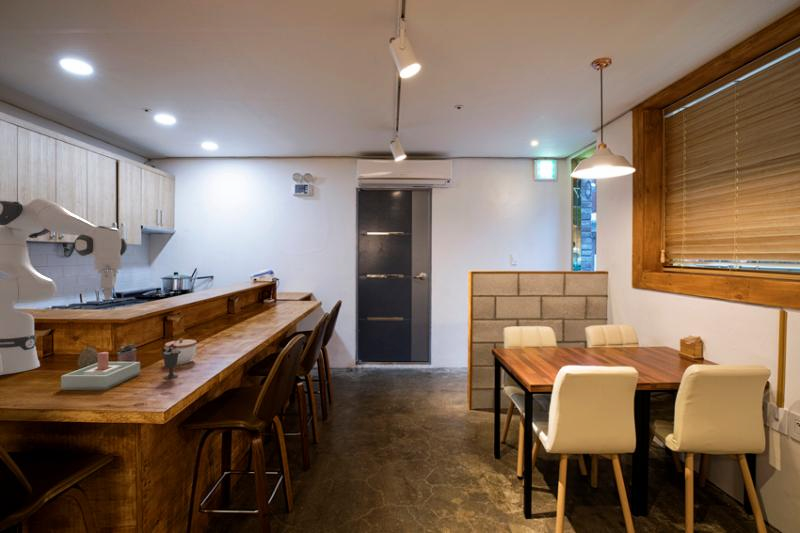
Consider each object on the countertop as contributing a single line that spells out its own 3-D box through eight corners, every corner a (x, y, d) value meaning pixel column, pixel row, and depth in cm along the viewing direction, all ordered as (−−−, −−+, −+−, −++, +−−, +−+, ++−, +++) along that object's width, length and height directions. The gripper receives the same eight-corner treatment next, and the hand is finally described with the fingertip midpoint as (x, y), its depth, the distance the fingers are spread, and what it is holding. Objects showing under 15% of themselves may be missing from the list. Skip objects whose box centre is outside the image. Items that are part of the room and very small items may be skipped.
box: (61, 389, 132) (61, 375, 132) (100, 373, 150) (100, 361, 150) (106, 389, 132) (106, 376, 132) (140, 373, 150) (140, 361, 150)
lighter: (121, 371, 154) (121, 347, 153) (115, 370, 154) (114, 347, 154) (138, 365, 161) (138, 343, 161) (132, 364, 162) (132, 342, 162)
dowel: (96, 380, 139) (96, 354, 138) (99, 377, 142) (99, 352, 141) (107, 379, 140) (106, 353, 140) (109, 376, 143) (109, 351, 143)
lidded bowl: (174, 358, 173) (174, 335, 173) (201, 358, 174) (201, 335, 174) (158, 366, 161) (158, 341, 160) (188, 366, 161) (188, 341, 161)
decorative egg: (102, 370, 154) (102, 346, 154) (81, 374, 149) (80, 350, 148) (96, 367, 158) (96, 344, 158) (75, 371, 153) (75, 347, 152)
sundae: (184, 376, 148) (184, 339, 147) (166, 381, 142) (166, 343, 142) (175, 373, 151) (175, 337, 151) (157, 378, 145) (157, 341, 145)
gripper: (116, 265, 145) (116, 300, 145) (118, 264, 162) (119, 295, 162) (95, 265, 141) (96, 300, 142) (100, 264, 158) (100, 296, 158)
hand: (108, 297), depth 152 cm, fingers open, 8 cm apart
